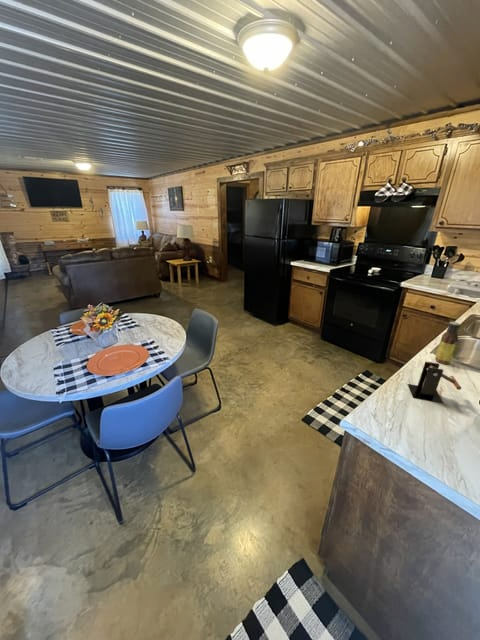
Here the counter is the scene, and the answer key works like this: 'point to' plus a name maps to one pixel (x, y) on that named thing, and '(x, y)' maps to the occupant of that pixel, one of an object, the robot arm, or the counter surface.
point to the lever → (448, 379)
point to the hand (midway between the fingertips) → (469, 295)
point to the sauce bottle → (448, 344)
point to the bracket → (427, 384)
